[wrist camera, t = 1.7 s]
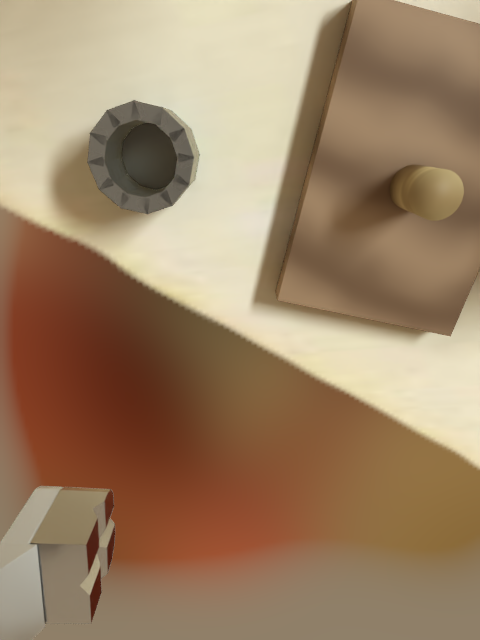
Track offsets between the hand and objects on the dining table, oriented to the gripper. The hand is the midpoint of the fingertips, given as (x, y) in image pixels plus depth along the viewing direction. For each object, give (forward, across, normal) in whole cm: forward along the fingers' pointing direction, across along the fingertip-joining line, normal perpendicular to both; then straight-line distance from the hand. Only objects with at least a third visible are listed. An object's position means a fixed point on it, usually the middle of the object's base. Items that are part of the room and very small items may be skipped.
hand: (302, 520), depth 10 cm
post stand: (+26, -10, -7) cm, 29 cm away
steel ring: (+26, +8, -8) cm, 29 cm away
